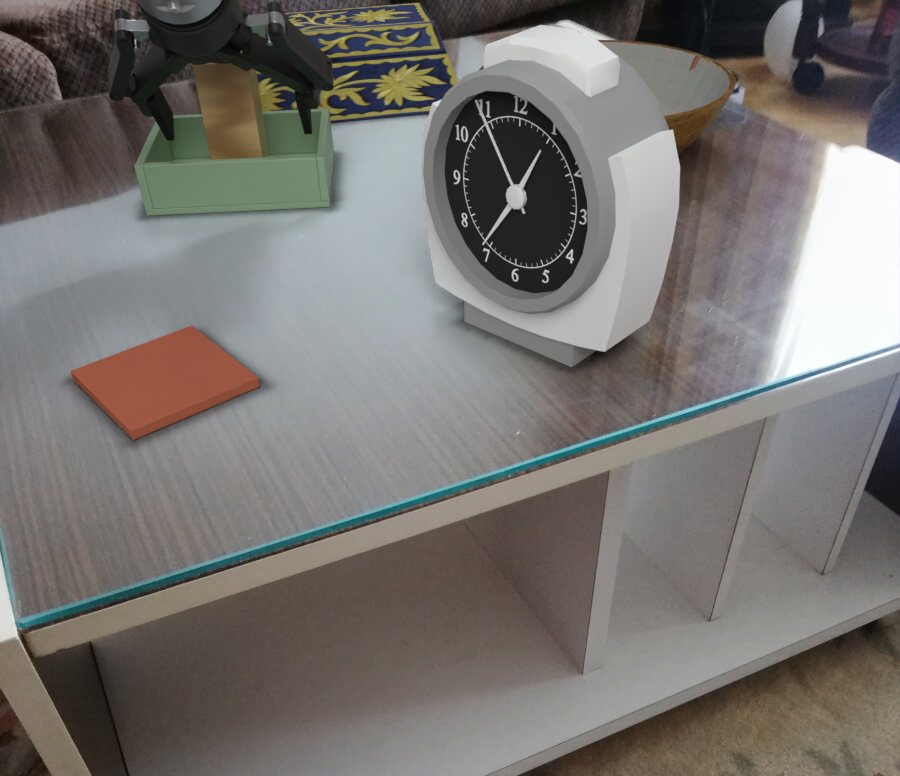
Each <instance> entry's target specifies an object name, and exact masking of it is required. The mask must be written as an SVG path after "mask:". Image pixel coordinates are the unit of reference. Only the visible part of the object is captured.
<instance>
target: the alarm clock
mask: <svg viewBox="0 0 900 776" xmlns="http://www.w3.org/2000/svg"><path fill="white" fill-rule="evenodd" d="M598 40H599V39H597V38H596V37H595V36H593V35H591V34H588V33H584V32H581V31H577V30H574V29H570V28H568V27H567V28H566V27H561V26H553V25H552V26H551V25H543V24H539V25H536V26H534V27H530V28H528V29H526V30H522V31H520V32H517V33H514V34H511V35H508V36H506V37H503V38H500V39H498V40H495V41H492V42H490V43H487V44H486V45H485V47H484V50H483V65H484V69H482V70H479V69H478V70H479V71H478V70H476V71H473V72H471V73H469V74H466V75H463V77H462V78H460V79H459V80H458V82H457V83H456V84H455V85H454V86H453V87H452V88H450V89H449V90H448V91H447V92H446V93H445V95H444V97H443V98H442V99H441V100H439V101H436V102H434V103H432V105H431V109H430V112H429V114H428V116H427V120H426V123H425V127H424V130H423V139H422V157H421V175H422V176H421V178H422V193H423V195H422V196H423V206H424V213H425V214H424V215H425V224H426V233H427V243H428V247H429V253H430V260H431V265H432V271H433V277H434V283H435V284H436V285H438V286H439V287H441V288H443V289H444V290H445V291H447V292H449V293H451V294H452V295H453V296H454V297H457V298H458V299H460V300H462V301H463V304H464V305H463V307H464V308H463V311H464V313H463V315H464V317H463V318H464V321H463V322H464V323H466V324H468V325H471V326H473V327H475V328H477V329H480V330H483V331H485V332H486V333H490V334H492V335H494V336H496V337H499V338H501V339H504V340H506V341H509V342H511V343H514V344H516V345H518V346H519V347H522V348H525V349H527V350H530V351H532V352H534V353H536V354H539V355H542V356H544V357H546V358H549V359H551V360H553V361H556V362H558V363H560V364H563V365H565V366H567V367H570V368H573V367H575V366H577V365H578V364H579V363H580V362H583V361H584V360H585V359H587V358H588V357H589V356H591V355H592V354H594V353H595V352H597V351H598V352H604V353H606V352H607V351H608V350H610V349H611V348H613V347H614V346H615V345H617V344H619V343H620V342H621V341H623V340H625V338H628V336H630V335H632V334H633V333H634V332H636V331H637V330H639V329H640V328H642V327H643V326H644V325H646V324H647V323H648V322H650V321H651V319H652V316H653V312H654V309H655V306H656V304H657V301H658V297H659V295H660V291H661V288H662V286H663V282H664V278H665V274H666V270H667V266H668V262H669V258H670V254H671V250H672V245H673V243H674V236H675V230H676V227H677V226H676V225H677V219H678V215H679V209H680V190H681V189H680V188H681V186H680V184H681V164H680V159H679V154H678V153H677V148H676V143H675V138H674V133H673V129H672V130H669V127H668V125H667V122H666V120H665V118H664V115H663V113H662V110H661V108H660V105H659V103H658V101H657V98H656V96H655V95H654V93H653V92H652V91H651V89H650V88H649V86H648V85H647V84H646V82H645V81H644V79H643V78H642V77H641V75H640V74H639V72H638V71H637V70H636V69H635V68H633V67H632V66H631V65H630V64H629V63H627V62H626V61H625V60H624V59H622V58H621V57H620V56H619V55H618V54H616V53H615V52H613V51H611V50H609V49H608V48H607V47H605V46H604V45H603V44H602V43H601V42H599V41H598Z"/></svg>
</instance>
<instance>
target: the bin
mask: <svg viewBox="0 0 900 776" xmlns="http://www.w3.org/2000/svg"><path fill="white" fill-rule="evenodd" d="M262 112H263V118H264V125H265V131H266V138H267V144H268V150H269V157H261V158H240V159H218V160H211V157H210V152H209V147H208V142H207V137H206V132H205V127H204V122H203V117H202V113H198V114H197V113H196V114H173V121H174V138H175V140H170V141H167V140H166V138H165V136H164V135H163V133H162V131H161V129H160V128H159V126H158V124H157V122H156V121H154V124H153V126H152V127H151V130H150V132H149V135H148V136H147V138H146V141H145V143H144V145H143V147H142V149H141V151H140V153H139V155H138V157H137V159H136V162H135V163H134V165H133V168H134V172H135V176H136V179H137V183H138V187H139V191H140V194H141V199H142V202H143V206H144V209H145V213H146V216H169V215H170V216H171V215H188V214H189V215H191V214H211V213H231V212H232V213H233V212H251V211H255V212H256V211H274V210H276V211H277V210H293V209H294V210H297V209H315V208H330V207H331V201H332V199H331V198H332V189H333V188H332V187H333V175H334V162H335V150H334V140H333V131H332V122H331V120H330V111H329V109H311V122H312V134H304V130H303V126H302V123H301V119H300V115H299V111H298V110H283V111H262Z"/></svg>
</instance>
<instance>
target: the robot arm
mask: <svg viewBox="0 0 900 776" xmlns="http://www.w3.org/2000/svg"><path fill="white" fill-rule="evenodd" d="M136 3H137V5H138V7H139V9H140V12H141V13H142V15H143V18H144V19H132V17H131V14H130V13H129V11H128V10H126V9H124V8H117V9H115V10H114V11H113V15H114V35H115V39H114V43H113V47H112V51H111V54H110V59H109V62H108V66H107V85H108V98H109V100H111V101H114V102H122V101H123V100H124V98H128V99H131V102H132V103H133V104H136V106H137V107H138V109H139V111H140V112H141V114H142V115H143V116H144V117H146V118H153V119H154V122H157V124H158V126H159V128H160V129H161V131H162V133H163V135H164V136H165V138H166V140H167V141H170V140H175V138H174V121H173V115H174V112H173V110H172V108H171V106H170V104H169V102H168V101H167V99H166V97H165V95H164V93H163V91H162V90H161V86H162V85H163V84H164V83H165V82H166V81H167V80H168V79H169V78H170V77H171V76H172V74H173V75H176V76H177V75H178V74H179V73H181V71H182V70H183V69H184V68H185V67H186V66H187V65H188V64H189V65H190V64H191V65H192V64H193V65H203V64H207V63H216V64H229V63H231V64H233V65H235V66H237V67H239V68H241V69H243V70H245V71H249V70H251V69H254V70H256V71H258V72H259V73H261V74H263V75H265V76H267V77H269V78H271V79H273V80H275V81H277V82H279V83H281V84H283V85H285V86H287V87H289V88H291V89H293V90H295V100H296V104H297V108H298V111H299V115H300V119H301V123H302V126H303V130H304V134H312V122H311V109H318V107H319V100H318V89H319V88H320V89H321V90H323V91H331V90H333V89H334V85H333V67H332V60H331V59H330V58H329V57H328V56H327V55H326V54H325V53H324V52H323V51H322V50H321V49H319V48H318V47H317V46H316V45H315V44H314V43H313V42H312V41H311V40H310V39H309V38H308V37H306V36H305V35H304V34H303V33H302V32H301V31H300V30H299V29H298V28H297V27H296V26H295V25H294V24H292V23H291V22H290V21H289V20H288V19H287V18H286V15H285V13H284V12H285V11H284V8H283V6H282V5H281V3H279V2H277V1H271V2H270V1H269V2H268V3H267V5H266V12H265V13H264V12H263V13H257V14H256V13H255V14H250V13H249V11H247V10H246V8H245V9H244V7H243V6H242V5H241V1H240V0H136ZM259 34H260V35H262V36H263V37H262V36H260V35H259ZM147 39H149V40H150V42H151V43H152V44H153V45H152V46H151V47H150V49H149V50H148V51H147V52H146V53H145V54H144V55H143V57H142V58H141V59H140V60H139V61H138V62H137V64H135V62H136V53H139V52H141V46H143V44H144V41H145V40H147ZM241 51H242V53H241Z"/></svg>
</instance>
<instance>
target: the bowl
mask: <svg viewBox="0 0 900 776" xmlns="http://www.w3.org/2000/svg"><path fill="white" fill-rule="evenodd" d="M597 40H598V41H599V42H601V43H602V44H603V45H604V46H605V47H607V48H608V49H609V50H611V51H613V52H615V53H616V54H618V55H619V56H620V57H621V58H622V59H624V60H625V61H626V62H627V63H629V64H630V65H631V66H632V67H633V68H635V69H636V70H637V71H638V72H639V74H640V75H641V77H642V78H643V79H644V81H645V82H646V84H647V85H648V86H649V88H650V89H651V91H652V92H653V93H654V95H655V96H656V98H657V101H658V103H659V105H660V108H661V110H662V113H663V115H664V118H665V120H666V122H667V125H668V127H669V130H672V129H673V133H674V138H675V143H676V148H677V153H678V155H680V154H681V153H683V151H685V150H686V149H687V148H688V147H690V145H692V144H693V143H694V142H695V141H696V140H698V138H699V137H700V136H701V135H702V134H703V133H704V132H705V131H706V130H707V128H708V127H709V126H711V124H712V123H713V122H714V121H715V119H716V118H717V116H719V114H720V112H721V111H722V110H723V108H724V107H725V105H726V104H727V102H728V101H729V99H730V97H731V96H732V94H733V92H734V90H735V87H736V84H737V81H736V78H735V75H734V73H732V71H731V70H730V69H729V68H728V67H727V66H725V65H724V64H722V63H721V62H719V61H717V60H716V59H713V58H711V57H708V56H705V55H704V54H700V53H698V52H695V51H692V50H688V49H684V48H681V47H676V46H671V45H666V44H661V43H654V42H653V43H652V42H646V41H635V40H620V39H597ZM482 69H484V64H483V65H482V66H481V67H480V68H479V69H478V70H477V71H479V70H482Z"/></svg>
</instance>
